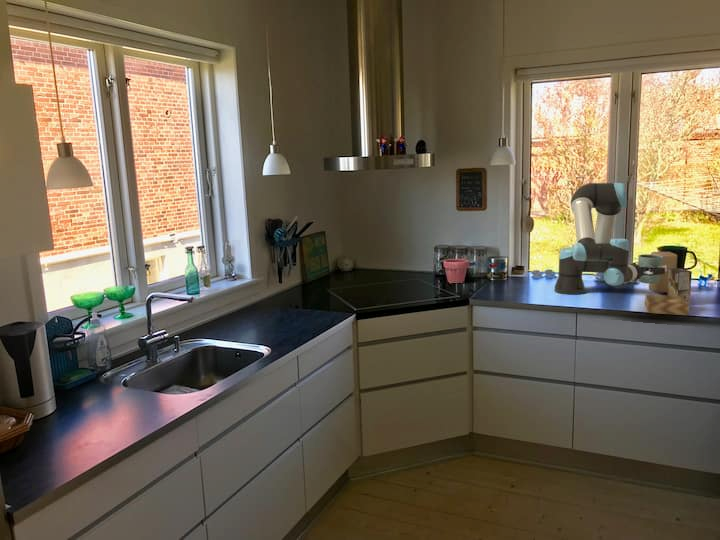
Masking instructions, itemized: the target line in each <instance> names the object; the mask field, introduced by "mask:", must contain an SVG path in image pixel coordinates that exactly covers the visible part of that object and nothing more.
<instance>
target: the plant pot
mask: <svg viewBox="0 0 720 540" xmlns="http://www.w3.org/2000/svg"><path fill="white" fill-rule="evenodd" d="M443 268H445V274H446V279H447V283H448V282H449V284H452V283H461V284H464V283H465V278H466V274H467V268H469V260H468V259H466V258H465V259H463V258H449V259H448V258H447V259H444V260H443ZM463 282H464V283H463Z"/></svg>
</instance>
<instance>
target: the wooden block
mask: <svg viewBox="0 0 720 540" xmlns="http://www.w3.org/2000/svg"><path fill="white" fill-rule="evenodd" d="M650 255H660V256H663V260H662V265H661V266H663V265H667V268H666V271H665V274H661V275H660V280H659V283H657V284H648V289H649V290H651V291H653V293H656V292H657V294H659V293H662V294H663V293H665V294H666V293H667V290H668V273H669V269H673V268H678V267H677V266H678V254H676V253H673V252H672V251H652V252H651V253H650Z"/></svg>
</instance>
